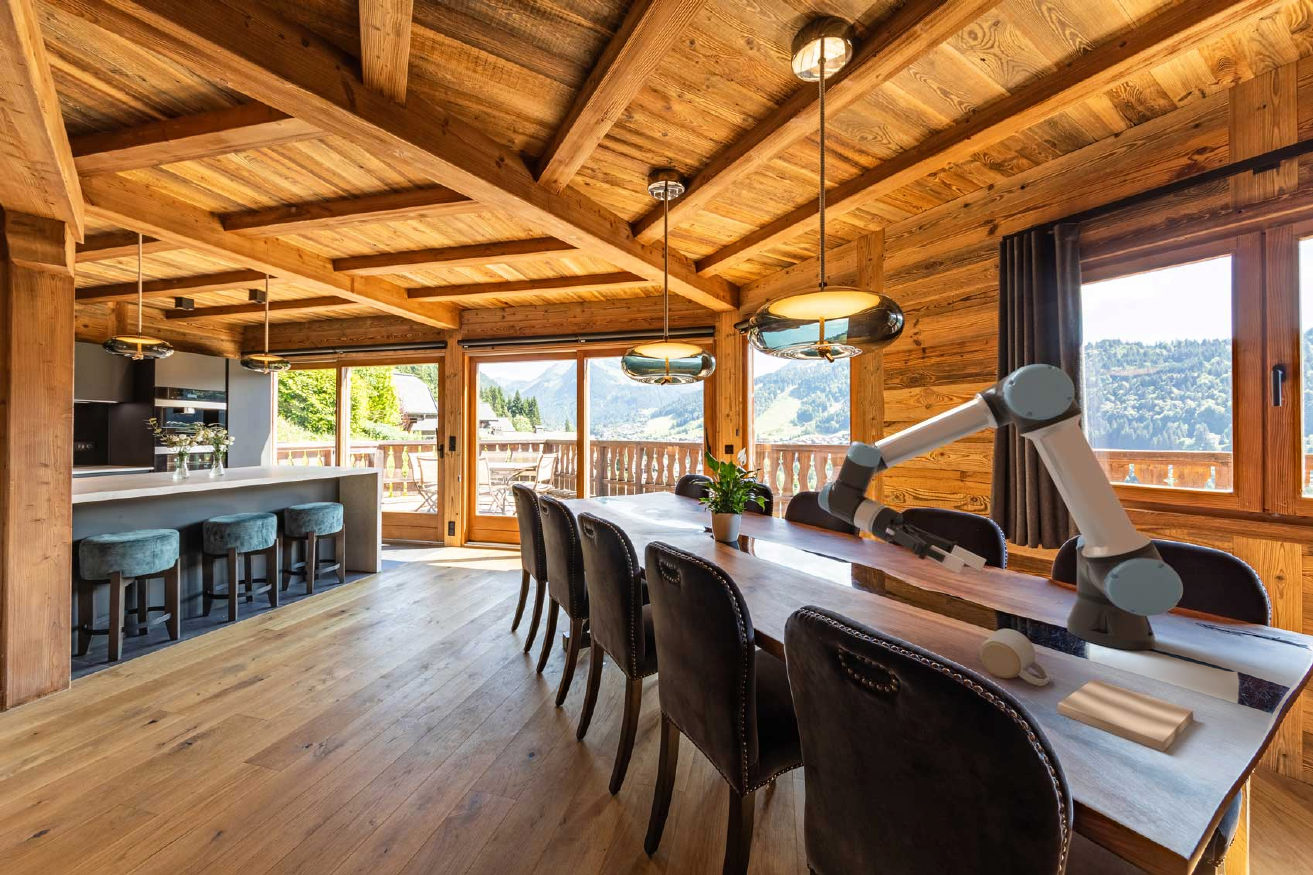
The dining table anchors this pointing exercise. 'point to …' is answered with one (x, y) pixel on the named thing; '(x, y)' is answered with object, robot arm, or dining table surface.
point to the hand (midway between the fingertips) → (973, 566)
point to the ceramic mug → (1011, 657)
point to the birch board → (1127, 714)
